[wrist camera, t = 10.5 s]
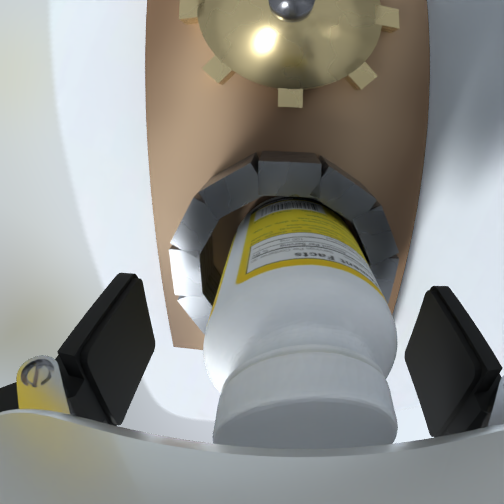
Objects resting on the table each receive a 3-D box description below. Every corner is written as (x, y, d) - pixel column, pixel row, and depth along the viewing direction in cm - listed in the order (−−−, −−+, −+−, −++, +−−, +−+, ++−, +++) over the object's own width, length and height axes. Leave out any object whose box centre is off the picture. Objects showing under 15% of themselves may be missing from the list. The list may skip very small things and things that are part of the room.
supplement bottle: (294, 317, 16) (296, 503, 7) (210, 252, 15) (132, 438, 6) (375, 247, 14) (463, 428, 5) (291, 165, 13) (312, 309, 4)
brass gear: (384, -52, 8) (398, -71, 6) (390, 116, 11) (408, 119, 10) (190, -59, 8) (176, -80, 6) (186, 108, 12) (169, 109, 10)
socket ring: (392, 159, 12) (414, 172, 10) (361, 328, 16) (370, 361, 14) (181, 151, 13) (161, 161, 11) (195, 321, 17) (184, 353, 15)
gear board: (408, -44, 9) (419, -54, 7) (374, 338, 18) (379, 355, 17) (163, -53, 9) (153, -64, 8) (180, 330, 19) (173, 346, 18)
